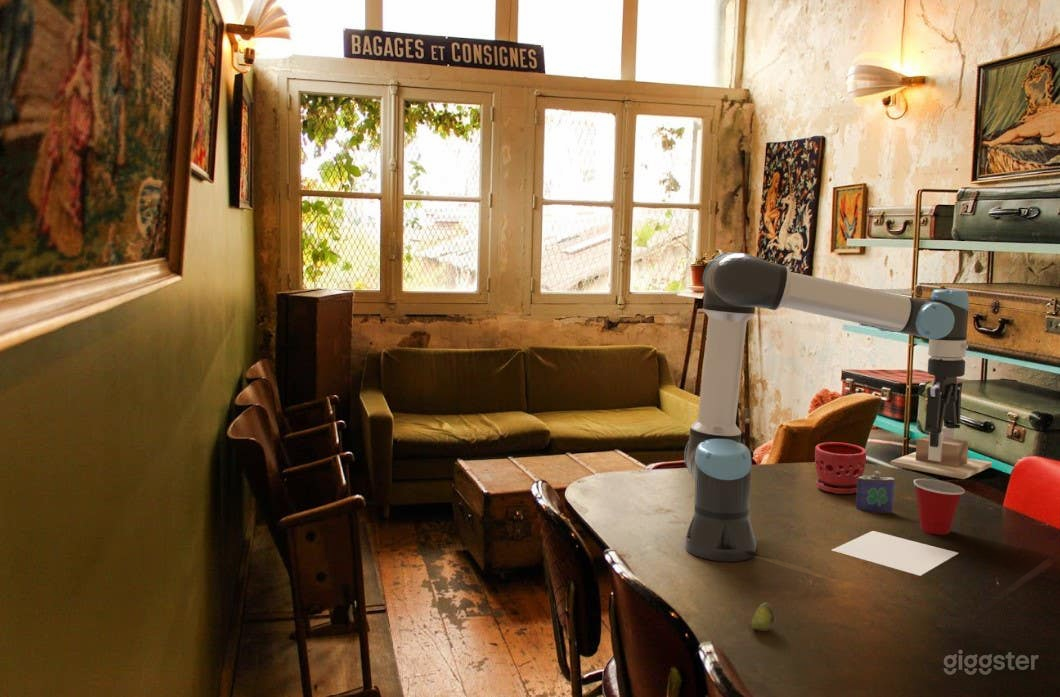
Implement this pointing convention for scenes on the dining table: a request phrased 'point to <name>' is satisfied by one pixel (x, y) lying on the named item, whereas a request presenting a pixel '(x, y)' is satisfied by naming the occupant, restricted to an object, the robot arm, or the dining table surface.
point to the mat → (896, 552)
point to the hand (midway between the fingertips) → (941, 457)
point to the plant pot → (839, 466)
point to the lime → (763, 617)
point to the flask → (875, 494)
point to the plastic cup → (937, 504)
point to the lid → (943, 459)
